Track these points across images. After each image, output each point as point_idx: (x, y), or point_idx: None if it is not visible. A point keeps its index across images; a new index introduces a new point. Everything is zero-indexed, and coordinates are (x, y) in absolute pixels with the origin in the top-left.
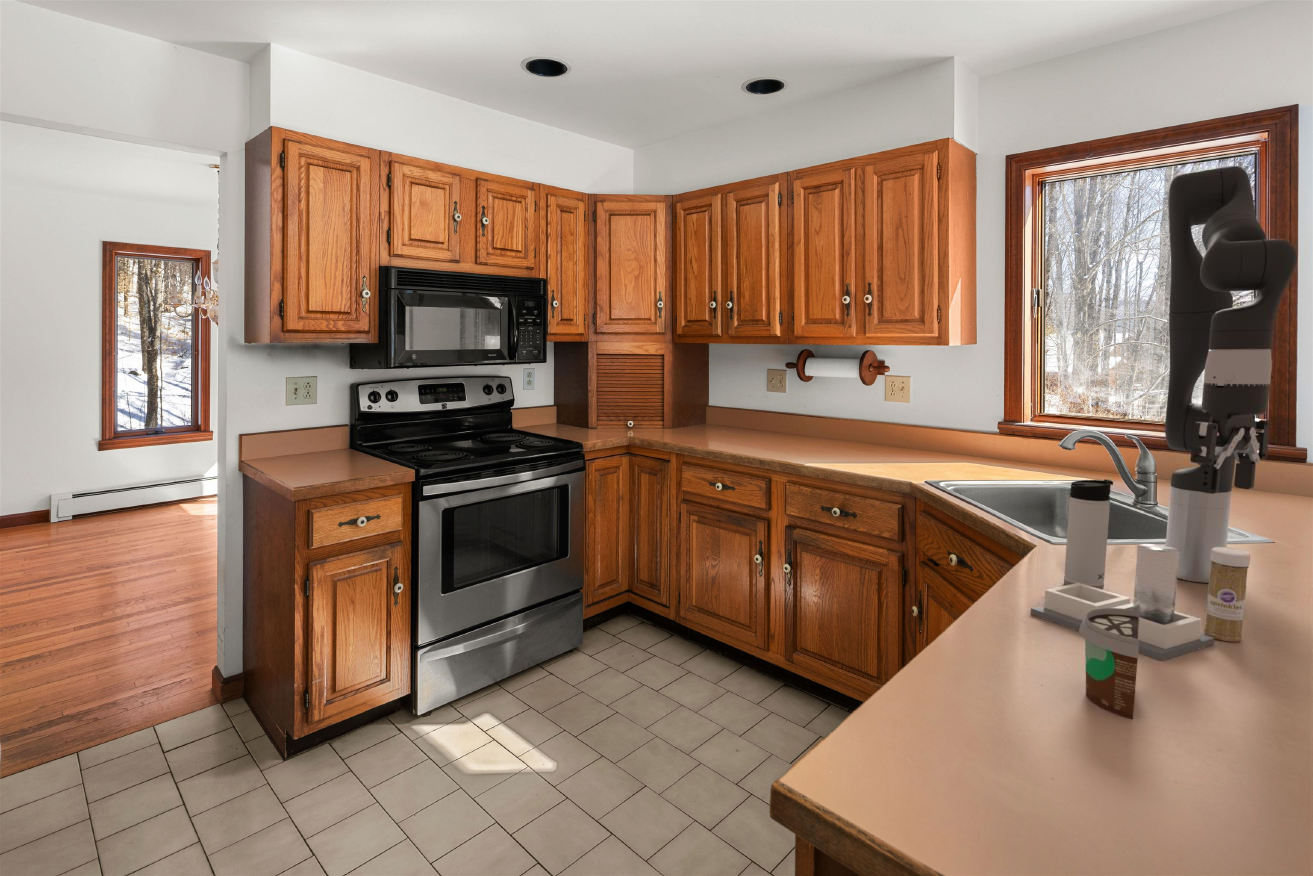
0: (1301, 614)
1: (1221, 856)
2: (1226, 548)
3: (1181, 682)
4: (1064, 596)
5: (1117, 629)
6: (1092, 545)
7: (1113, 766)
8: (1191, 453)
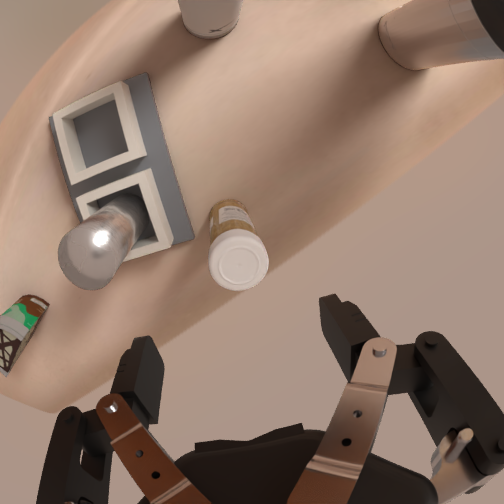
0: (396, 178)
1: (31, 404)
2: (245, 252)
3: (90, 303)
4: (59, 141)
5: (2, 351)
6: (193, 7)
7: None
8: (53, 433)
